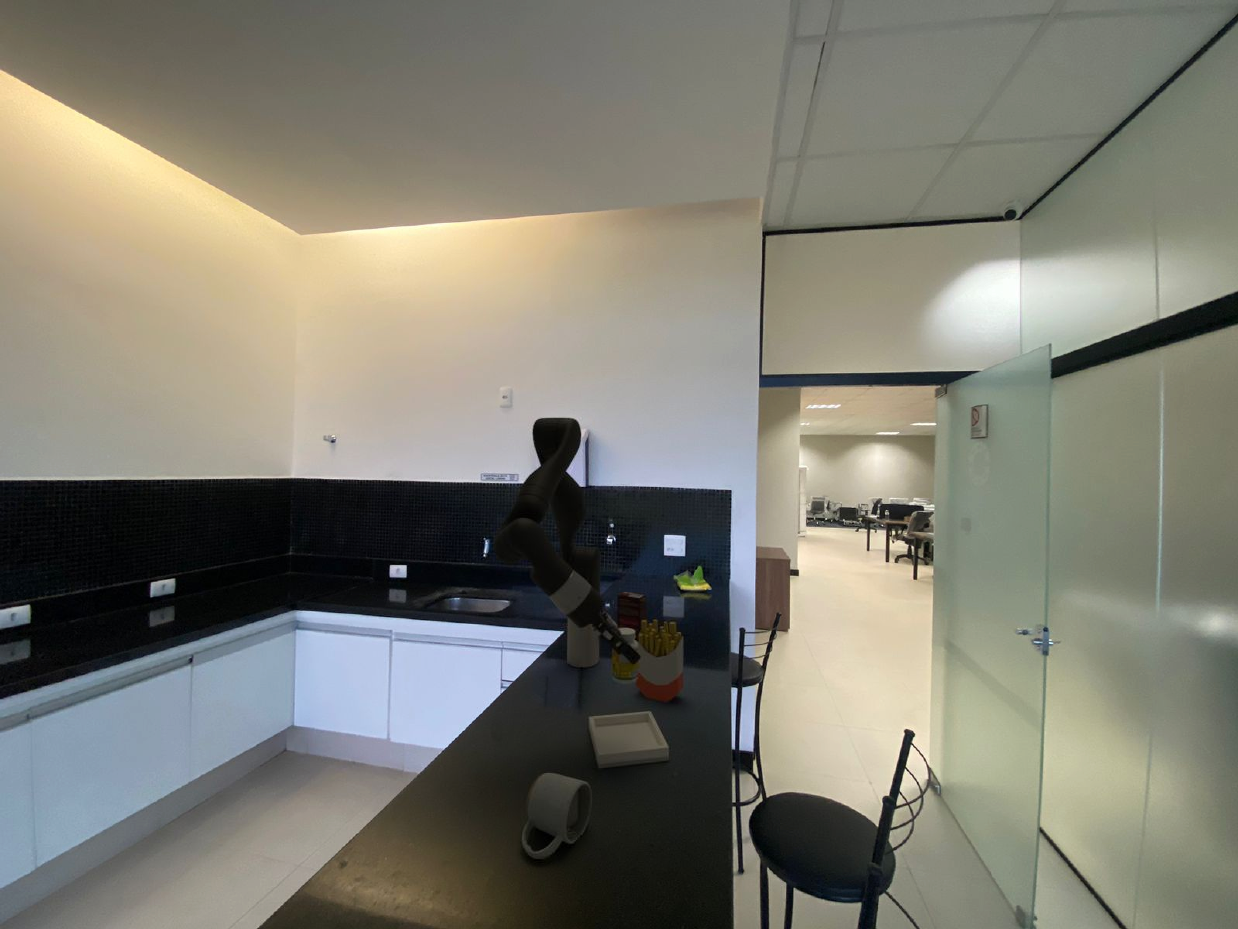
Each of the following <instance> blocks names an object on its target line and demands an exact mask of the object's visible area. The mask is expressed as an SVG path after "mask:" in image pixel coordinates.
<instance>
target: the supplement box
mask: <svg viewBox="0 0 1238 929" xmlns="http://www.w3.org/2000/svg"><path fill="white" fill-rule="evenodd" d="M647 604H648V602H647V594H641V593H635V592H630V591H623V592H621V593H618V594H617V625H618V628H630V629H633V630H635V639H634V640H636V641H637V643H638V639H639V638H638V635H639V632H640V631H641V630H642V626H641V621H642V620H647V613H648V612H647V611H648V610H647V607H648V606H647ZM647 621H648V620H647Z"/></svg>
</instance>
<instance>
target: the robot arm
mask: <svg viewBox="0 0 1238 929" xmlns="http://www.w3.org/2000/svg"><path fill="white" fill-rule="evenodd" d="M531 434H532V441H533V446H534V450H535V452H536V453H535V454H536V456H537V458H538V462H539V467H537V468H536V469H535V470H534V471H532V472H531V473H530V474H529V475H528V476H527V477H526V478H525V480H524V481H523V484H522V485H521V487H520V489H519V492H518V494H517V497H516V499H515V501H514V503H513V506H512V508H511V510H510V512H509V513H508V514H507V516H506V518H505V520H504V521H503V523H502V524H501V526H500V528H499V529H498V532H497V533H496V536H495V538H494V542H493V550H494V553H495V556H496V557H497V559H498V560H499V561H500V562H502V563H504V564H507V565H512V564H513V565H514V564H517V563H519V562H522V561H523V560H524V559H527V560H528V561H529V563H530V564H531V566H532V569H531V570H530V573H529V576H530V579H531V581H532V582H533V583H534V584H535V585H536V587H538V589H540V590H541V591H542V592H543V593H544V594H545V595H546V596H547V597H548V598H549V599H550V601H551V602H552V603H553V604H554V605H555V607H556V608H558V610H560V612H562V614H564V615H565V616H566V617H567V633H566V634H567V641H566V642H567V643H566V644H567V646H566V649H567V650H566V652H567V653H566V661H567V662H566V663H567V664H568V665H569V664H570V666H571V667H574V668H581V667H583V668H591V667H593V666H596V665H597V664H598V663H599V661H600V640H602V641H603V642H605V644H607V645H608V646H609V647H610V648H612V649H614V650H615V651H616V653H617V654H619V655H620V654H621V653H622V654H623V655H624V656H625V657H626V658H627V659H628V660H629V661H630V662H631V663H632V664H636V663H637V662H638V661H639V659H640V658H641V656H640V655H639V653H638V652H637V651H636V650H634V649H633V648H632V647H631V646H630V645H629V643H628V641H627V640H625V639H624V638H623V637H622V636H621V634H622V632H621V631H620V630H619V628H618V623H617V622H616V621H615V620H614V619H613V618H612V617H611V615H609V613H608V612H607V611H604V610H603V609H604V607H605V603H606V600H605V597H603V596H602V595H601V594H600V592H601V573H602V572H601V570H602V554H601V550H600V548H599V547H596V546H583V545H582V546H580V545H579V546H578V545H575V542H574V540H575V538H576V535H577V534H578V532H579V531H580V529H581V527H583V524H584V523H585V520H586V518H587V516H588V515H587V514H588V510H587V504H586V498H585V494H584V491H583V488H582V487H581V485H580V484H579V483H578V482H577V481H576V480H575V479H574V477H572V475H571V474H569V472H568V471H567V470H568V469H569V468H570V466H571V464H572V462H573V461H574V459H575V457H576V456H577V454H578V451H579V449H580V448H581V447H580V446H581V442H582V429H581V426H580V423H579V421H578V420H577V419H576V418H573V417H539V418H537V419H536V420H535V421H534V422H533V426H532V433H531ZM550 507H551V509H550V510H551V514H552V517H553V520H554V524H555V527H556V531H557V532H556V533H557V537H558V543H559V549H560V554H558V552H557V550H556V549H555V546H554V545H553V543H552V542H551V540H550V539H549V537H548V534H546V532H545V530H544V529H543V528H542V527H541V525H540V524H541V523H542V522H543V521H544V520H545V518H546V516H547V514H548V511H549V508H550ZM616 632H617V633H616ZM619 641H620V642H622V643H621V644H620V645H619V646H617V645H616V644H617V643H618V642H619ZM612 649H611V650H612Z"/></svg>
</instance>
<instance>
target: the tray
mask: <svg viewBox="0 0 1238 929" xmlns="http://www.w3.org/2000/svg"><path fill="white" fill-rule="evenodd" d="M588 731H589V734H590V738H591V743H592V747H593V751H594V756H595V760H596V763H597V768H598V769H605V768H606V769H607V768H615V767H625V766H632V765H633V766H634V765H643V764H648V763H649V764H650V763H651V764H652V763H659V762H666V761H667V762H668V761H669V760H670V757H669V755H670V753H669V751H670V747H669V745H668V743H667V741H666V739H665V737H664V735H663V733H662V731H661V729H660V727H659V726H658V724H657V721H656V719H655V716H653V713H652V712H651V711H650V710H649V711H637V712H628V713H617V714H607V715H606V714H605V715H595V716H588Z"/></svg>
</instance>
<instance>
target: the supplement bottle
mask: <svg viewBox="0 0 1238 929" xmlns="http://www.w3.org/2000/svg"><path fill="white" fill-rule="evenodd" d="M619 630H620V631H621V632H622V634H621V636H622V637H623V638H624V639H625V640H627V641H628V643H629V645H630V646H631V647H632V648H633V649H634V650H636V651H637V652H638V643H637V641H636V640H634V639H635V630H633V629H630V628H619ZM616 633H617V632H616ZM621 643H622V642H620V641H619V642H618V643H617V644H616V645H617V646H619V645H620V644H621ZM611 651H612V652H611V654H612V655H611V656H612V657H611V678H612V680H613V681H615V682H616V683H619V684H625V685H626V684H632V683H636V680H637V679H638V662H637V663H636V664H632V663H631V662H630V661H629V660H628V659H627V658H626V657H625V656H624V655H623V654H622V653H621V654H620V655H619V654H617V653H616V651H615V650H614V649H611Z"/></svg>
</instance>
